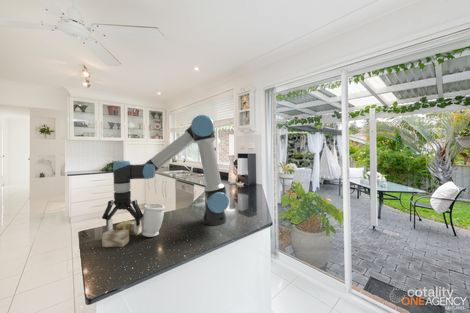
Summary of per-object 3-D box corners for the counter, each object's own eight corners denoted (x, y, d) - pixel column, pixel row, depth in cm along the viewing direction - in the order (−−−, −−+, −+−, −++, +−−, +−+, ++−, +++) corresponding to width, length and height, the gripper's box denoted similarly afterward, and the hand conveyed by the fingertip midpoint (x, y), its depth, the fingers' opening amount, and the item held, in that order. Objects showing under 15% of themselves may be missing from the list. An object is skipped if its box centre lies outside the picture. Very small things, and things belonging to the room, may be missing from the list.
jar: (153, 239, 102) (158, 210, 102) (135, 235, 103) (139, 206, 104) (164, 232, 112) (168, 205, 112) (147, 228, 114) (151, 202, 114)
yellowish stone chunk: (130, 236, 107) (129, 221, 107) (123, 241, 101) (123, 225, 101) (123, 236, 107) (123, 221, 107) (116, 241, 101) (116, 225, 101)
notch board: (141, 231, 113) (141, 220, 113) (123, 246, 95) (122, 233, 95) (123, 231, 113) (123, 220, 113) (102, 246, 95) (101, 234, 95)
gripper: (149, 189, 107) (150, 229, 108) (103, 189, 108) (104, 229, 108) (143, 192, 100) (144, 235, 100) (93, 192, 100) (94, 235, 101)
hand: (123, 232), depth 104 cm, fingers open, 13 cm apart
